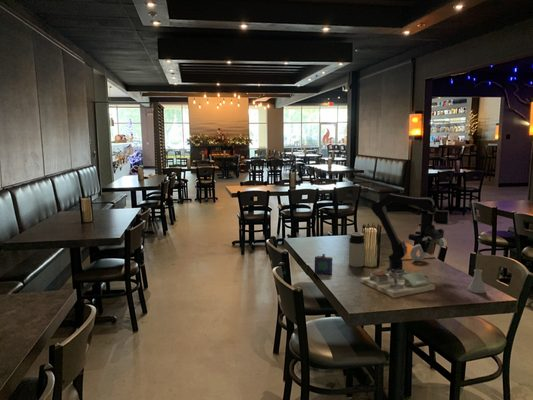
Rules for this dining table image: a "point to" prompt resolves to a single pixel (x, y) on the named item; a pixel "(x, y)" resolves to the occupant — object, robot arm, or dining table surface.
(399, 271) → the black button
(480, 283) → the flask
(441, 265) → the dining table surface
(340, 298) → the dining table surface
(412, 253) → the donut
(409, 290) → the control panel
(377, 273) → the terracotta button
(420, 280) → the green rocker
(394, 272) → the toggle lever
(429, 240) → the robot arm
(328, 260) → the flask
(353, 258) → the travel mug
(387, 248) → the dining table surface
